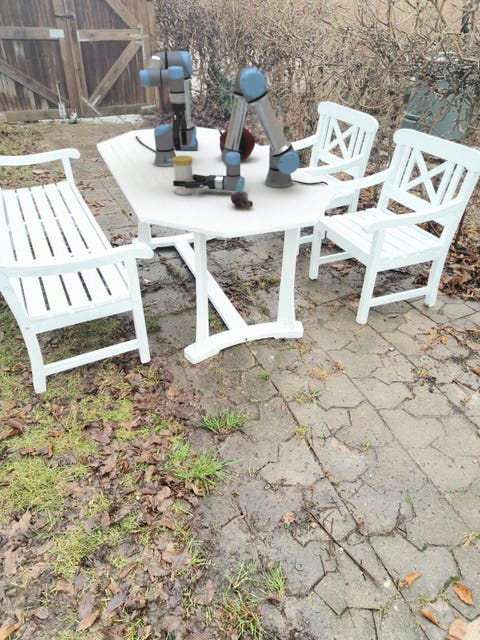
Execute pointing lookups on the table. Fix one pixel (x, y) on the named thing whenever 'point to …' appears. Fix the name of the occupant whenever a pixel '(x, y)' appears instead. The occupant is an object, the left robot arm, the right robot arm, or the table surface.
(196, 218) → the table surface
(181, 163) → the lid
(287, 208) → the table surface
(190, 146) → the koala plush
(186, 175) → the jar
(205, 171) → the table surface
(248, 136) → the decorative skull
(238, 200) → the rock
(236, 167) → the right robot arm
